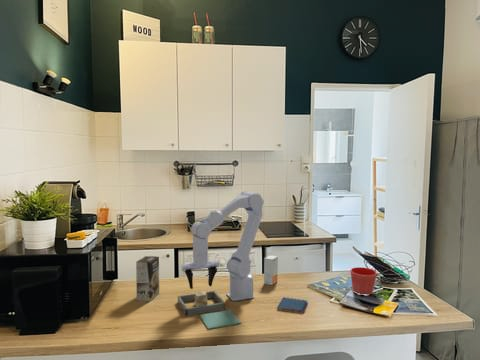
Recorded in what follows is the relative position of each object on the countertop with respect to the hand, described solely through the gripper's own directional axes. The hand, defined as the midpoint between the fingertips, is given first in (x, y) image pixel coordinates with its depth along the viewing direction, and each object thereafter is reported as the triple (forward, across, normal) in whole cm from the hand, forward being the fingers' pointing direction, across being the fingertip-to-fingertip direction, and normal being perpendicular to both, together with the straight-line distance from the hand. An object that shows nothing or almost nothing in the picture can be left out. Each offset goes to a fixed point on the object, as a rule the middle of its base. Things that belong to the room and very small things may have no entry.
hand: (200, 286), depth 145 cm
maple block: (+8, 0, 0) cm, 8 cm away
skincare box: (+8, +37, +13) cm, 40 cm away
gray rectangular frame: (+8, 0, 0) cm, 8 cm away
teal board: (+8, +3, -14) cm, 17 cm away
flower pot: (+8, +68, -13) cm, 70 cm away
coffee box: (+8, -18, +17) cm, 26 cm away
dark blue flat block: (+8, +33, -14) cm, 37 cm away
